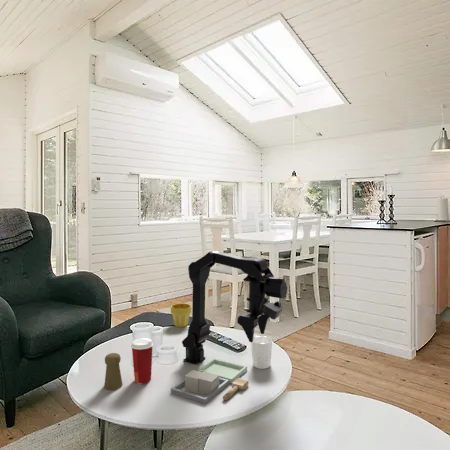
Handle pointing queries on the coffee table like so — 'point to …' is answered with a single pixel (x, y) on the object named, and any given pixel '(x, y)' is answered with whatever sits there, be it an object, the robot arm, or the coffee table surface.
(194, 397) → the bin
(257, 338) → the white cup
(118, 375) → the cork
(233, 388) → the wooden mallet
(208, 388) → the beige cube
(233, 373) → the bin
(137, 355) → the paper cup
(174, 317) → the plant pot
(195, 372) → the beige cube
